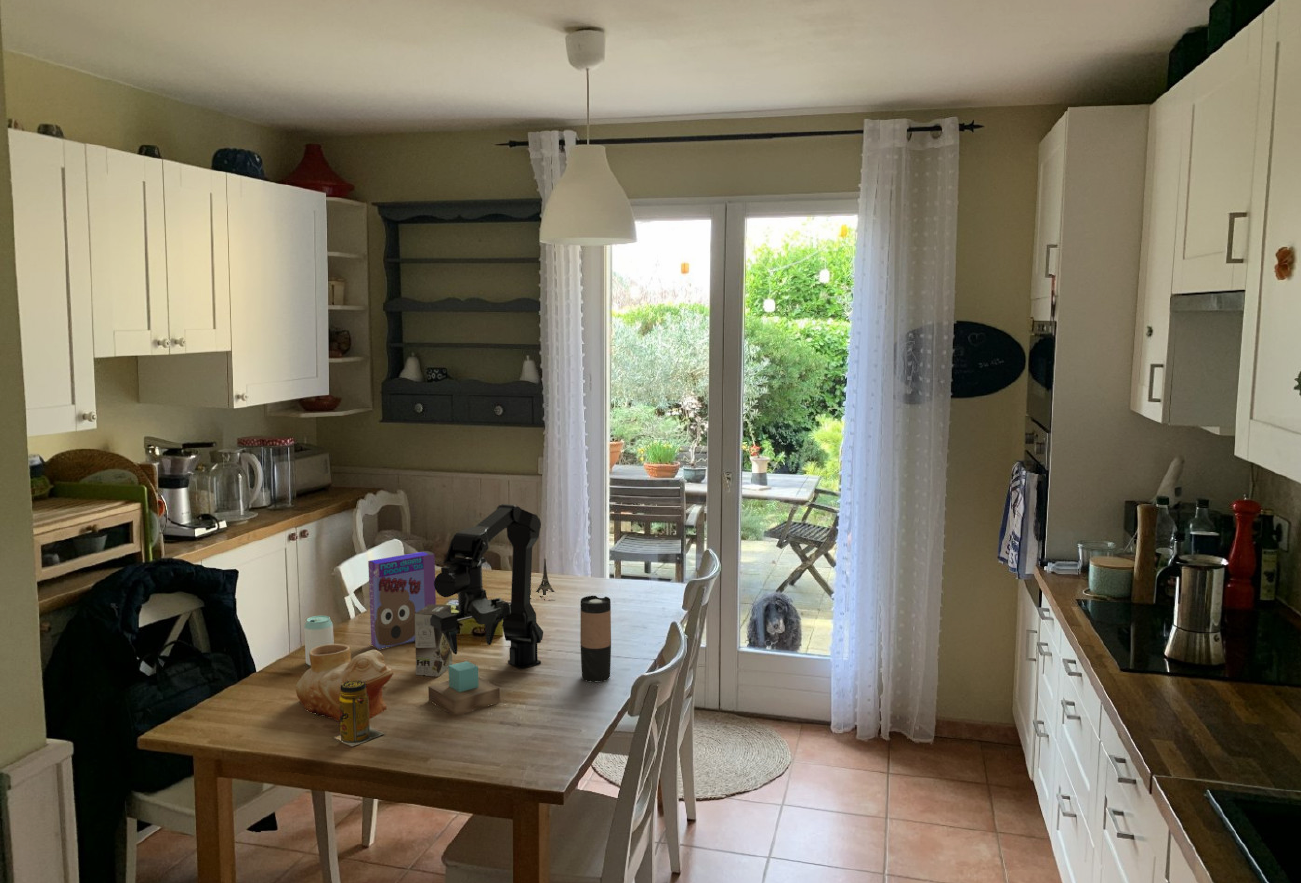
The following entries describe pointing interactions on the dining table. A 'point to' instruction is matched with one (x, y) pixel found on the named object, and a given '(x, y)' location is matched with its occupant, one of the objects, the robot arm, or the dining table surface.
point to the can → (317, 633)
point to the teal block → (463, 676)
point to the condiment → (355, 714)
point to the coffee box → (431, 643)
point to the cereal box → (399, 596)
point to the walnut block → (463, 697)
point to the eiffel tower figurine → (545, 581)
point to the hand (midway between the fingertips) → (472, 649)
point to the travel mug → (595, 638)
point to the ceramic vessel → (341, 679)
